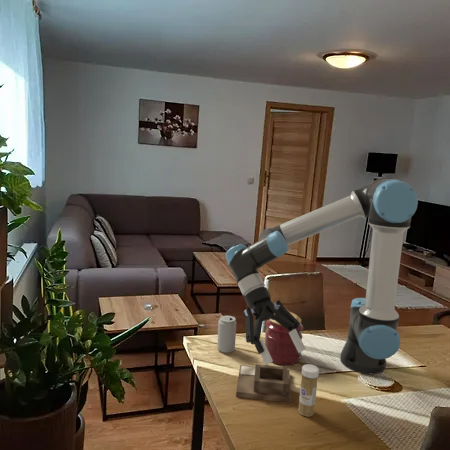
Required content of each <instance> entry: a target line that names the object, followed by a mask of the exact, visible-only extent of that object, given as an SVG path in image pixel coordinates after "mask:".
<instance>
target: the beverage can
mask: <svg viewBox="0 0 450 450" xmlns="http://www.w3.org/2000/svg"><path fill="white" fill-rule="evenodd" d="M217 322H218V324H217V325H218V326H217V345H216V348H217V350H218V351H220V352H221V353H222V354H230V353H232V352H233V351H235V349H236V339H237V338H236V334H237V321H236V317H235V316H232V315H222V316H220V317H219V320H218V321H217Z"/></svg>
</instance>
